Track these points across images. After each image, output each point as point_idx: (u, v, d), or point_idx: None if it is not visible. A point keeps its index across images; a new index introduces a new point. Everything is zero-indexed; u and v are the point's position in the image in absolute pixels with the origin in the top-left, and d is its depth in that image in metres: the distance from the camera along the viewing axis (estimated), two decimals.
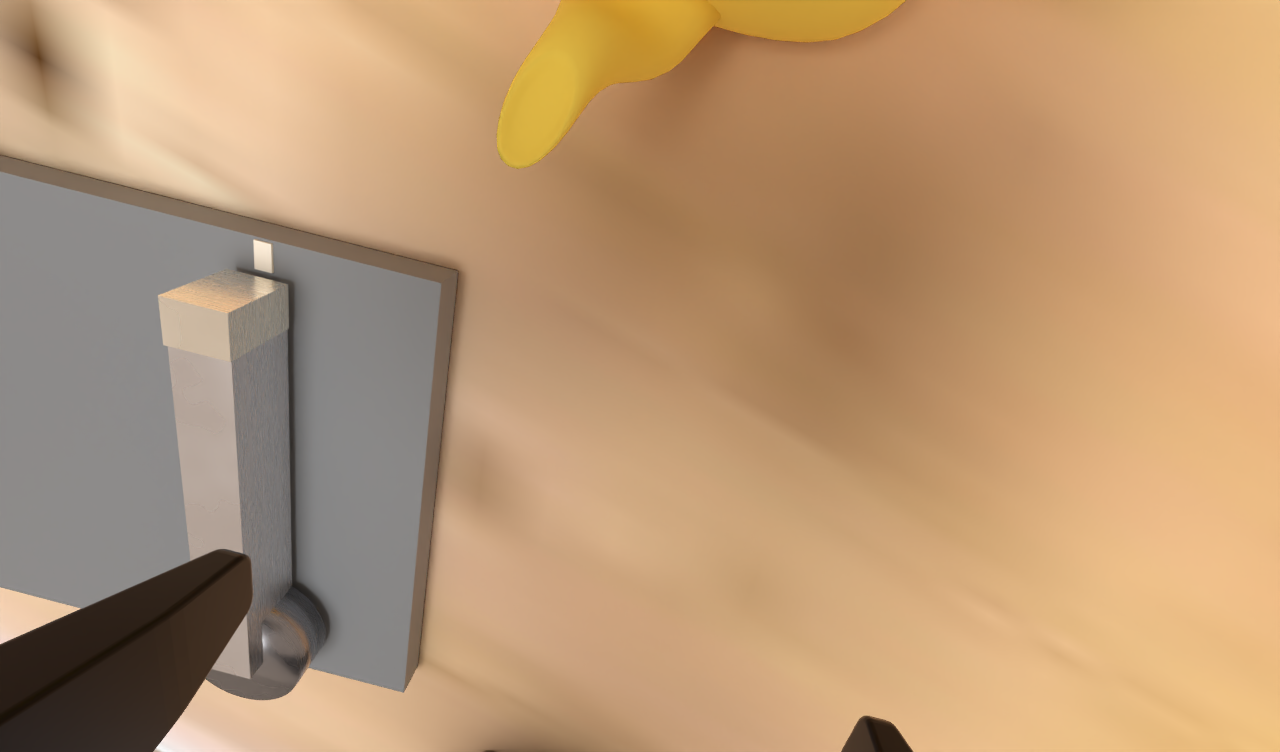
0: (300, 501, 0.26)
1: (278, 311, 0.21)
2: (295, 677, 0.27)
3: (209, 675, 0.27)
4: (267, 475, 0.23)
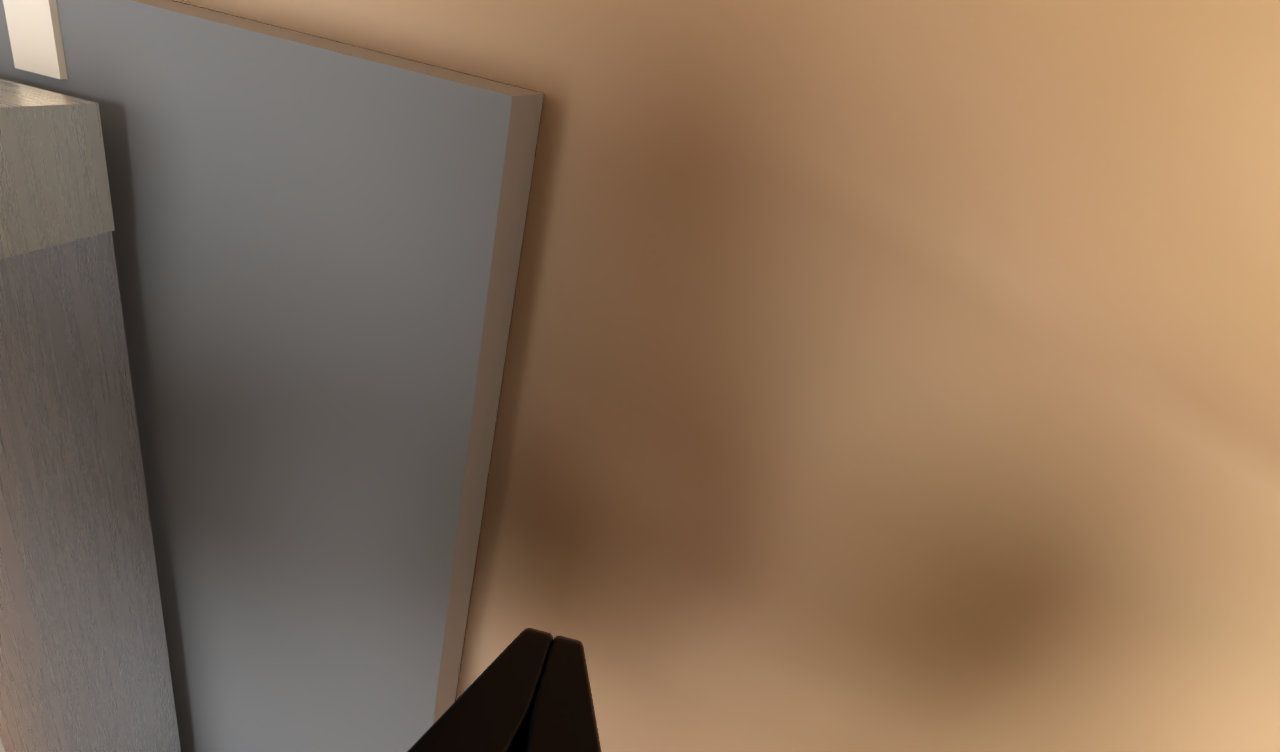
0: (190, 622, 0.12)
1: (68, 173, 0.08)
2: None
3: None
4: (82, 592, 0.10)
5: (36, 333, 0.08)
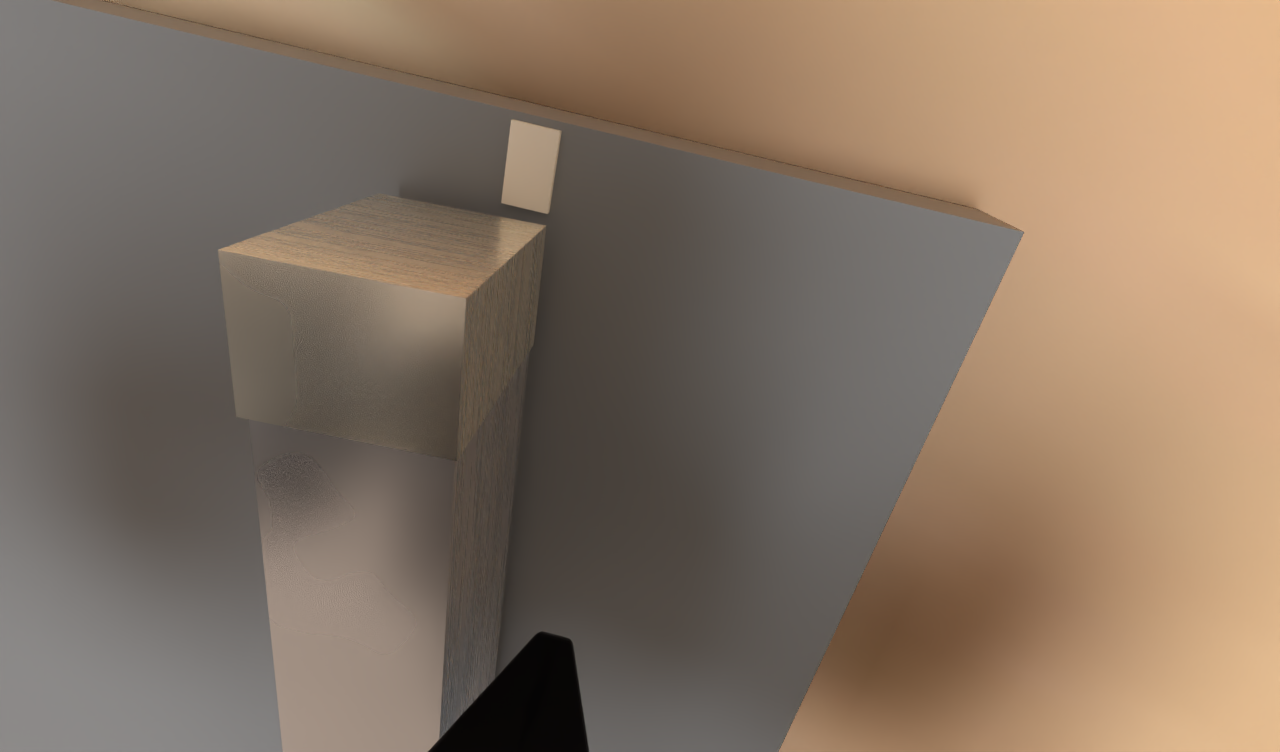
0: None
1: (528, 299, 0.08)
2: None
3: None
4: (473, 701, 0.10)
5: (496, 458, 0.08)
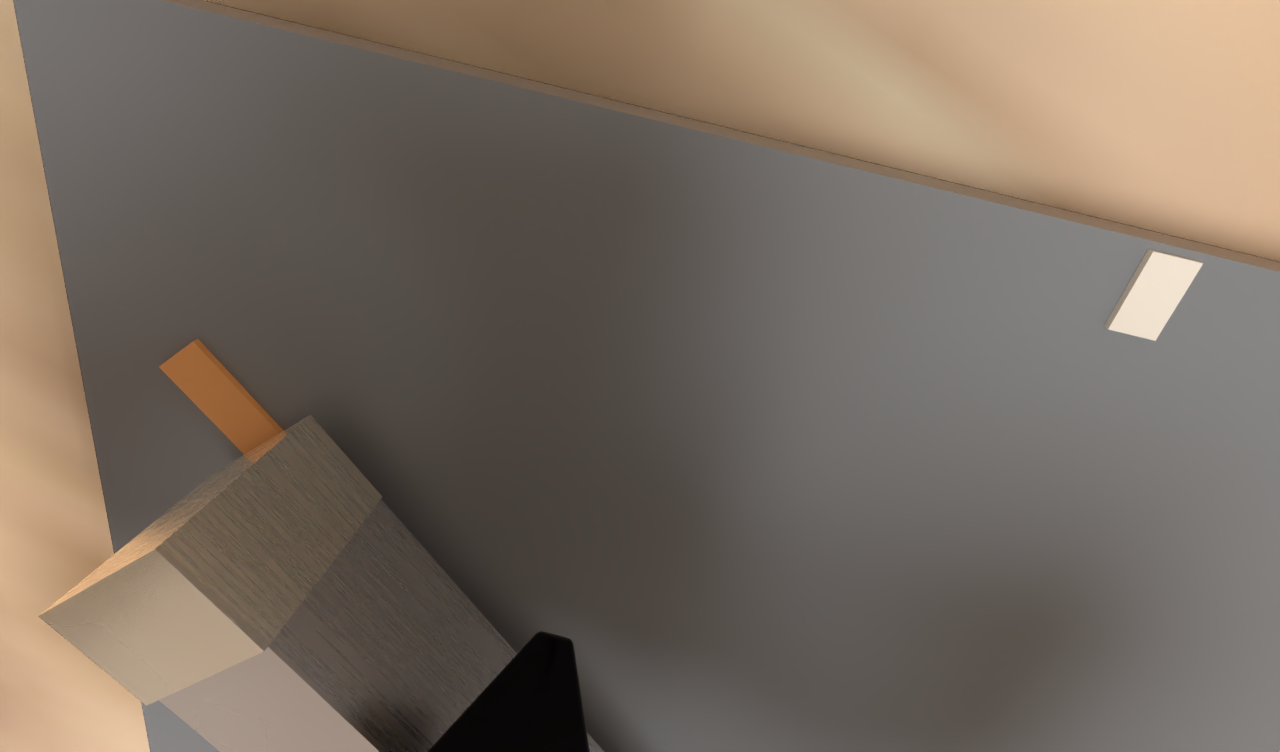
0: None
1: (327, 476, 0.09)
2: None
3: None
4: None
5: (388, 605, 0.09)
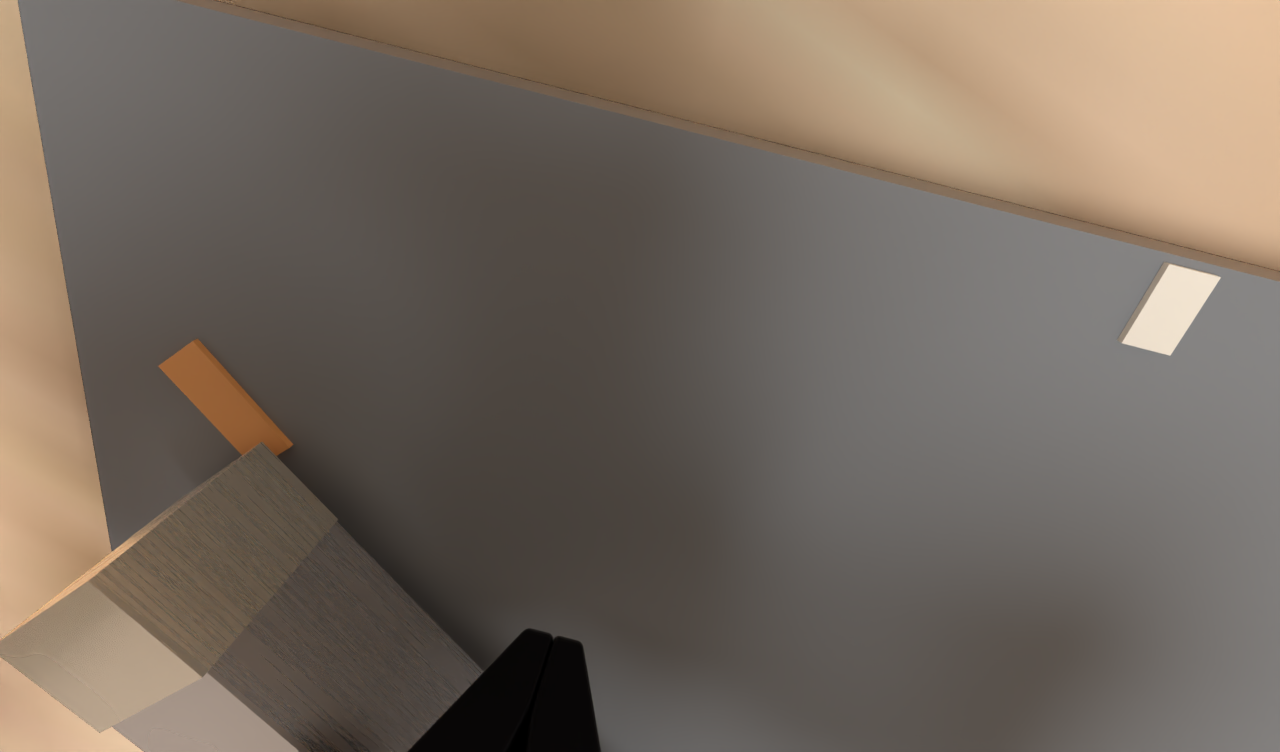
0: None
1: (277, 502, 0.09)
2: None
3: None
4: None
5: (340, 627, 0.09)
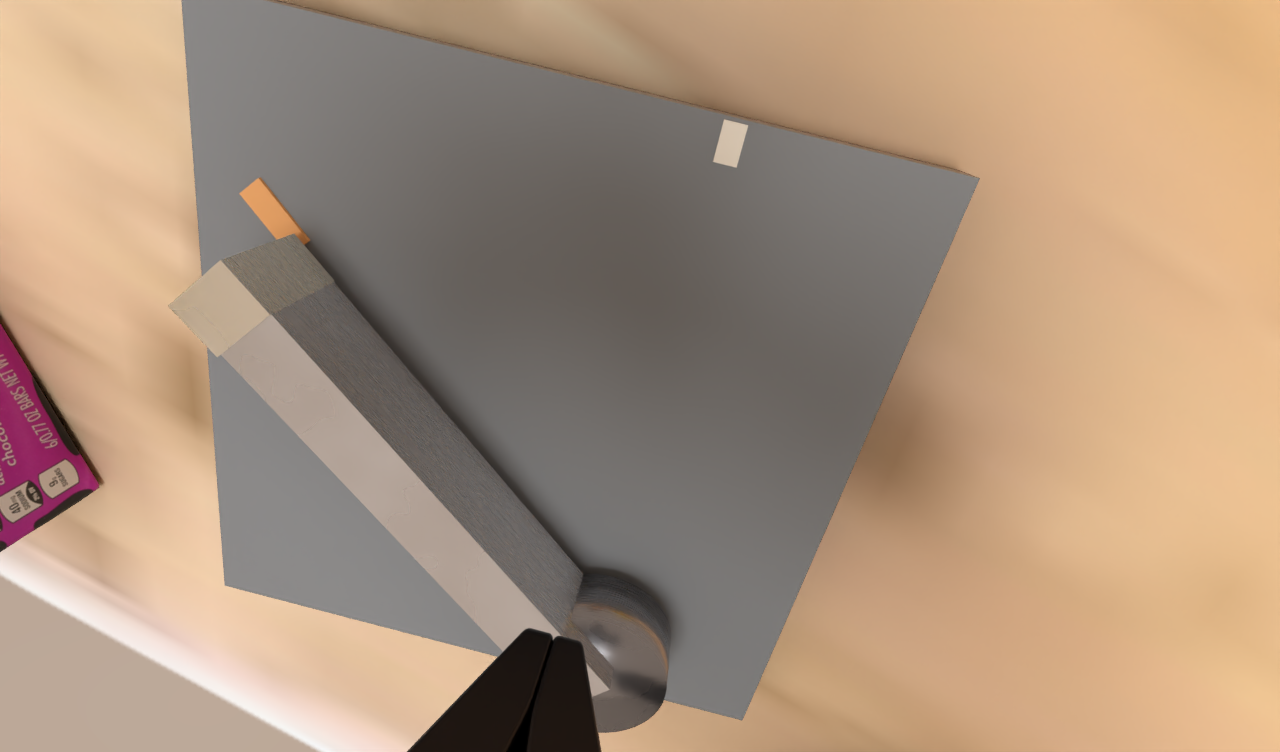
0: (678, 480, 0.20)
1: (303, 262, 0.18)
2: (656, 661, 0.20)
3: None
4: (437, 446, 0.19)
5: (335, 326, 0.18)
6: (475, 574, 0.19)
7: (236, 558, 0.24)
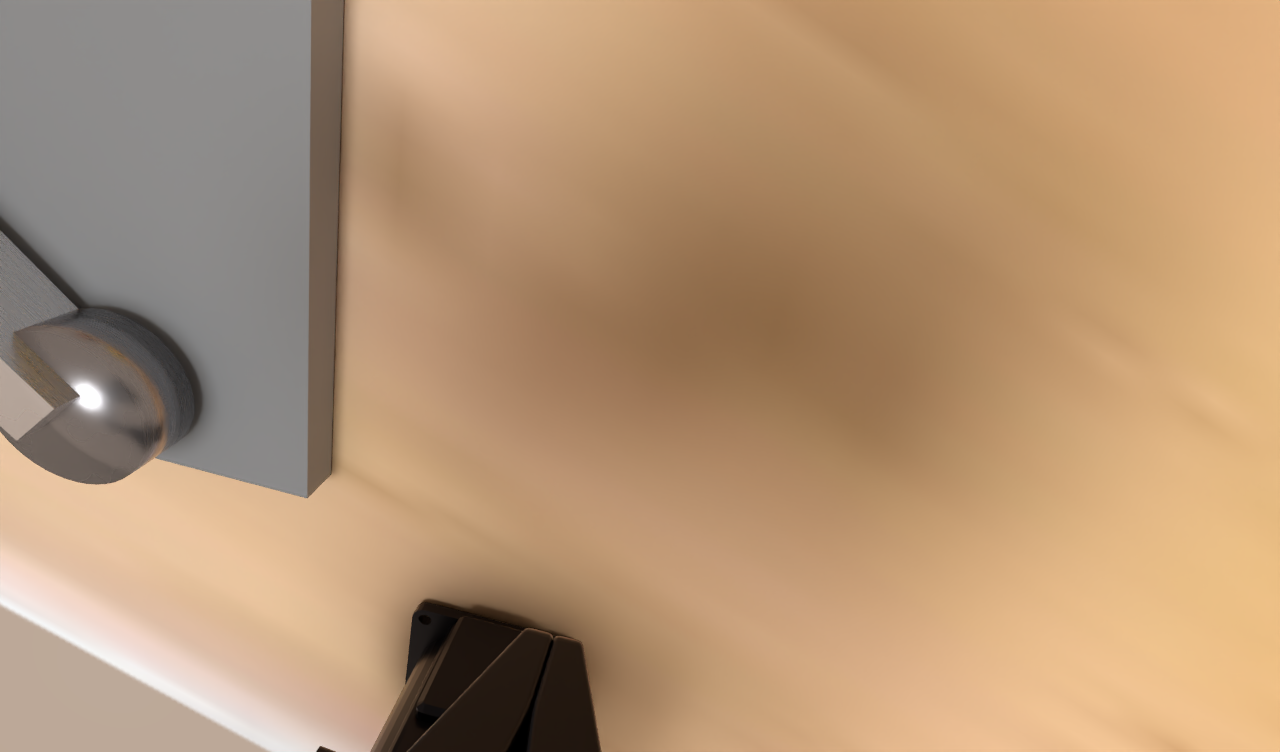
0: (143, 184, 0.18)
1: None
2: (117, 384, 0.18)
3: (80, 473, 0.20)
4: None
5: None
6: None
7: None
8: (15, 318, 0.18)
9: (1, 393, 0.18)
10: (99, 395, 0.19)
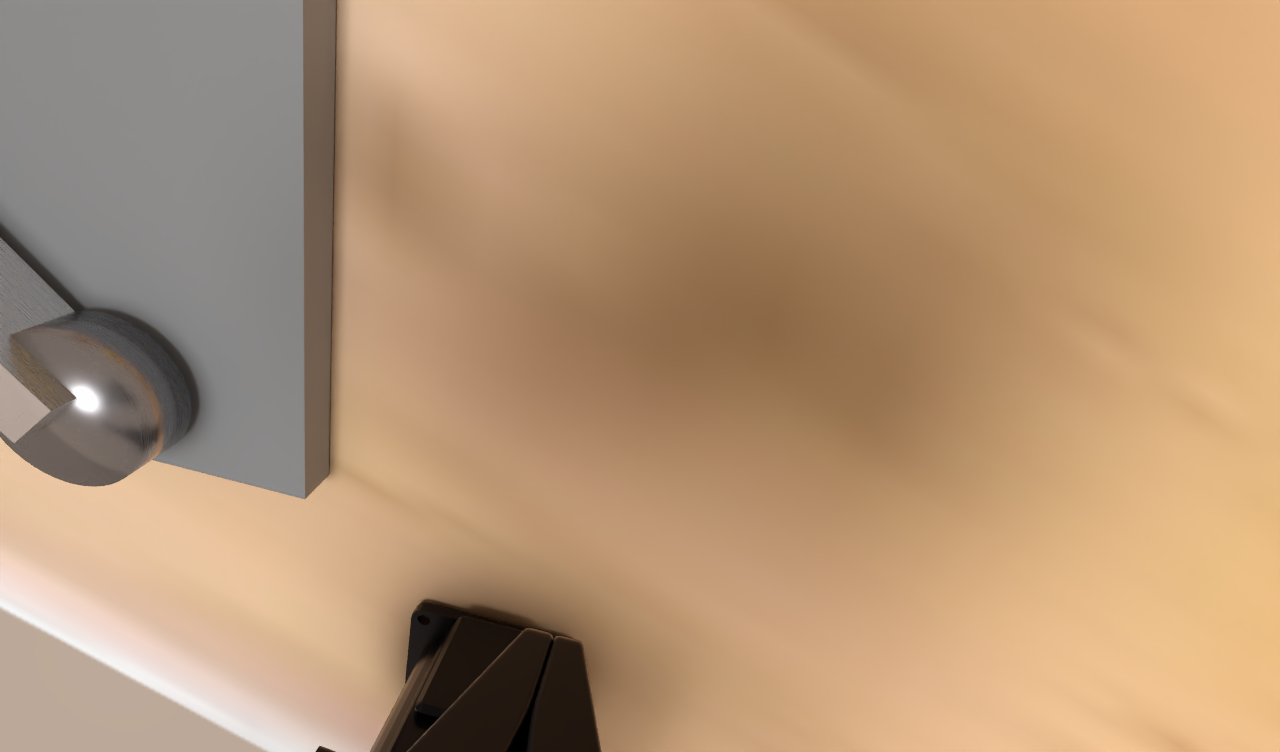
0: (138, 187, 0.18)
1: None
2: (113, 385, 0.18)
3: (78, 475, 0.20)
4: None
5: None
6: None
7: None
8: (11, 321, 0.18)
9: None
10: (96, 397, 0.19)
